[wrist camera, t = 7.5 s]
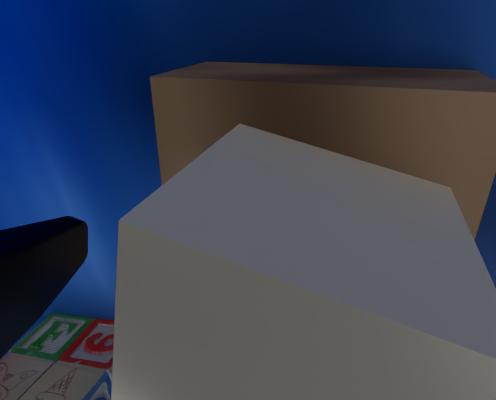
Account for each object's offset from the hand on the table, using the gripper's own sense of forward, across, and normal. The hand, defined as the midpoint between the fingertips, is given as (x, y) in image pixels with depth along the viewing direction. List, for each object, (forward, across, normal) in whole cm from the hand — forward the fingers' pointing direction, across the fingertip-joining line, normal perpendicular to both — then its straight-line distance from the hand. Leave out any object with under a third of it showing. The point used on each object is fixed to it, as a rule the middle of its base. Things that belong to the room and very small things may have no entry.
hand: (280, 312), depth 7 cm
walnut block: (+7, 0, 0) cm, 7 cm away
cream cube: (+3, 0, 0) cm, 3 cm away
